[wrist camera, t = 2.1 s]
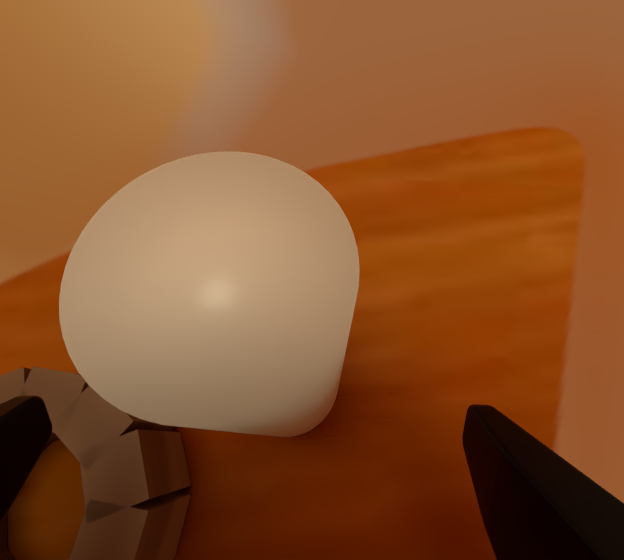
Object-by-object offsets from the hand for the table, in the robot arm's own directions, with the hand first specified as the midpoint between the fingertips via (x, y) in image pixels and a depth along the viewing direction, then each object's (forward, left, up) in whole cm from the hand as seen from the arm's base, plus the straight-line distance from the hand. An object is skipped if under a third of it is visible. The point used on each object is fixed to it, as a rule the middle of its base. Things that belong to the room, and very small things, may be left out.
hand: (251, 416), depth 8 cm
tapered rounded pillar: (+2, -1, -9) cm, 9 cm away
